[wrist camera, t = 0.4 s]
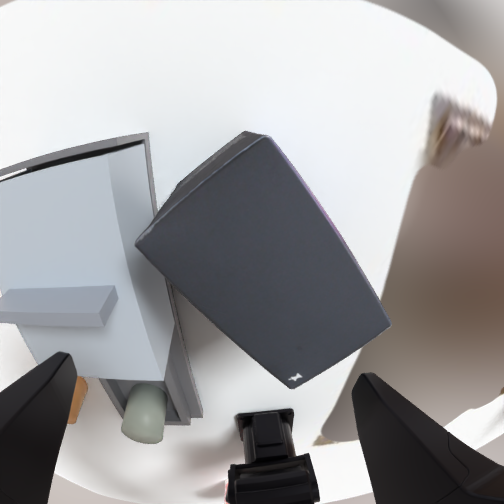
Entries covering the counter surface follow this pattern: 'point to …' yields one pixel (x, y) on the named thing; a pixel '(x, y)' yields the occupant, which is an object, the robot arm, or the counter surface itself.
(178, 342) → the housing
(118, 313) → the lid
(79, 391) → the orange rounded tapered piece
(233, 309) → the small box
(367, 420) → the robot arm
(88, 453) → the counter surface
